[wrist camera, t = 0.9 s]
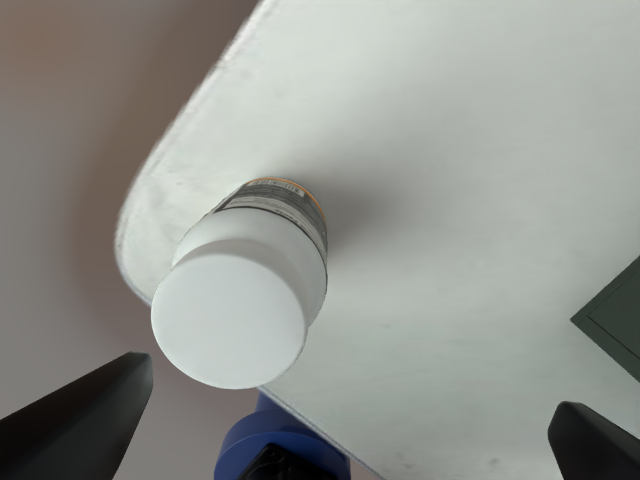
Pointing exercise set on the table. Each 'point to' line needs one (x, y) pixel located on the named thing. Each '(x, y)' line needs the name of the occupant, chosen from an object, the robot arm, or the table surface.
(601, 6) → the table surface
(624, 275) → the bin
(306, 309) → the pill bottle
